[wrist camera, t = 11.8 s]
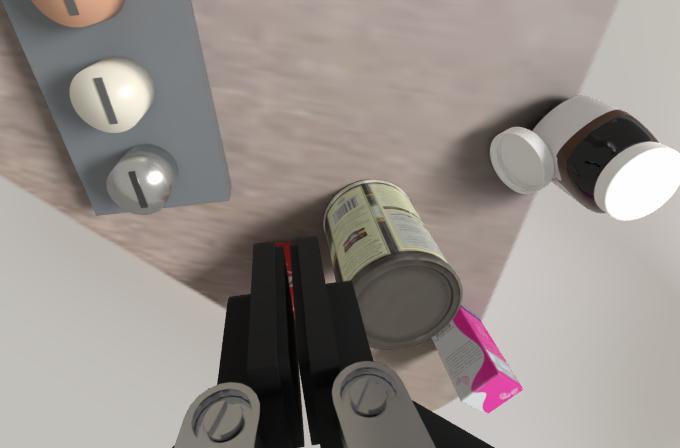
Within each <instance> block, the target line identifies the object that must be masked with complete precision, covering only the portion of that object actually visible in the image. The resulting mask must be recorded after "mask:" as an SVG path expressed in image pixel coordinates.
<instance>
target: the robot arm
mask: <svg viewBox="0 0 680 448" xmlns="http://www.w3.org/2000/svg"><path fill="white" fill-rule="evenodd" d="M290 258H291V271H292V285H293V299H294V310H293V304H292V297H291V291H290V285H289V278H288V272H287V265H286V259H285V253H284V247H283V246H277V247H276V244H275V241H274V242H266V243H258V244H254V248H253V265H252V283H251V294H247V295H240V296H232V297H229V299H228V303H227V311H226V319H225V328H224V335H223V343H222V351H221V359H220V367H219V375H218V383H217V385H216V386H214V387H212V388H209V389H208V390H206V391H205V392H204V393H202V394H201V395H199V396H198V397H197V398H196V399H195V401H194V402H193V403H192V404H191V405H190V407H189V409H188V411H187V413H186V415H185V417H184V420H183V423H182V426H181V429H180V432H179V435H178V438H177V441H176V443H175V445H174V446H173V447H172V448H300V447H304V431H303V417H302V404H301V391H300V377H299V370H300V376H301V382H302V388H303V394H304V400H305V407H306V413H307V419H308V425H309V431H310V437H311V443H312V445H317V444H320V447H321V448H494V447H492V446H491V445H489V444H487V443H485V442H484V441H482V440H480V439H478V438H477V437H475V436H473V435H472V434H470V433H468V432H466V431H465V430H463V429H461V428H459V427H457V426H456V425H454V424H452V423H451V422H449V421H447V420H446V419H444V418H442V417H440V416H439V415H437V414H435V413H433V412H432V411H430V410H428V409H426V408H425V407H423V406H421V405H420V404H418V403H416V402H414V401H413V400H411V398H410V396H409V394H408V392H407V390H406V388H405V386H404V384H403V382H402V380H401V379H400V378H399V376H398V375H397V373H396V372H395V371H393V370H392V369H391V368H389V367H388V366H386V365H383V364H381V363H378V362H373V358H372V354H371V351H370V347H369V343H368V339H367V335H366V332H365V328H364V324H363V320H362V317H361V313H360V309H359V305H358V301H357V298H356V294H355V290H354V286H353V283H352V281H351V280H349V281H342V282H335V283H327V284H325V279H324V273H323V267H322V262H321V256H320V250H319V245H318V239H317V236H314V237H306V238H298V239H297V244H293V245H290ZM294 312H295V317H294ZM298 362H299V363H298Z"/></svg>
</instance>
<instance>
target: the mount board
mask: <svg viewBox="0 0 680 448" xmlns="http://www.w3.org/2000/svg"><path fill="white" fill-rule="evenodd" d="M1 1H2V3H3V5H4V8H5V10H6V12H7V15H8V17H9V19H10V21H11V24H12V26H13V28H14V30H15V33H16V35H17V37H18V39H19V42H20V44H21V46H22V48H23V51H24V53H25V55H26V58H27V60H28V62H29V64H30V67H31V69H32V71H33V73H34V76H35V78H36V80H37V82H38V85H39V87H40V89H41V92H42V94H43V96H44V98H45V101H46V103H47V105H48V107H49V110H50V112H51V114H52V116H53V119H54V121H55V123H56V125H57V128H58V130H59V132H60V135H61V137H62V139H63V141H64V144H65V146H66V148H67V150H68V153H69V155H70V157H71V159H72V162H73V164H74V166H75V168H76V171H77V173H78V175H79V178H80V180H81V182H82V184H83V187H84V189H85V191H86V193H87V196H88V198H89V200H90V202H91V205H92V207H93V209H94V211H95V214H96V216H99V215H107V214H116V213H125V212H128V211H126V210H124V209H122V208H121V207H119V206H118V205H117V204H116V203H115V202H114V201H113V200H112V199H111V197H110V195H109V193H108V191H107V178H108V176H109V174H110V172H111V171H112V170H113V169H114V167H115V166H116V165H117V163H118V162H119V161H120V160H121V158H122V157H123V156H124V154H125V153H126V152H127V151H128V150H129V149H130V148H132V147H134V146H136V145H139V144H152V145H156V146H159V147H161V148H163V149H165V150H166V151H167V152H169V153H170V154H171V155H172V156H173V158H174V159H175V161H176V163H177V166H178V172H179V173H178V178H177V181H176V183H175V185H174V187H173V190H172V192H171V194H170V197H169V199H168V201H167V203H166V205H165V206H164V207H163V208H169V207H177V206H186V205H195V204H204V203H212V202H221V201H229V199H230V193H231V187H232V186H231V181H230V177H229V172H228V167H227V163H226V158H225V154H224V149H223V145H222V140H221V136H220V131H219V127H218V122H217V117H216V113H215V108H214V104H213V99H212V95H211V90H210V86H209V81H208V76H207V72H206V67H205V63H204V58H203V54H202V49H201V45H200V40H199V35H198V31H197V26H196V22H195V17H194V13H193V8H192V4H191V0H125V2H124V5H123V7H122V9H121V10H120V12H119V13H118V14H117V15H116V16H114V17H112V18H110V19H108V20H104V21H101V22H98V23H95V24H92V25H89V26H86V27H68V26H64V25H62V24H59V23H57V22H55V21H53V20H51V19H50V18H48V17H47V16H46V15H44V14H43V13H42V12H41V11H40V10H39V9H38V8H37V7H36V6H35V5H34V3H33V2H32V1H31V0H1ZM110 56H122V57H126V58H129V59H131V60H133V61H135V62H137V63H138V64H140V65H141V66H142V67H143V68H144V69H145V70H146V71H147V72H148V74H149V75H150V77H151V79H152V81H153V83H154V87H155V98H154V102H153V104H152V106H151V107H150V108H149V110H148V111H147V112H146V113H145V114H144V115H143V117H142V118H141V119H140V120H139V121H138V122H137V124H136V125H135V126H134V127H132V128H131V129H129V130H127V131H124V132H120V133H109V132H104V131H101V130H98V129H96V128H94V127H92V126H90V125H89V124H87V123H86V122H85V121H84V120H83V119H82V118H81V117H80V116H79V115H78V114H77V112H76V111H75V109H74V107H73V105H72V103H71V100H70V85H71V82H72V80H73V78H74V77H75V76H76V75H77V74H78V73H79V72H80V71H82V70H84V69H85V68H87V67H89V66H91V65H93V64H95V63H96V62H98V61H100V60H102V59H104V58H106V57H110Z"/></svg>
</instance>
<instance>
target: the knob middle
mask: <svg viewBox="0 0 680 448" xmlns="http://www.w3.org/2000/svg"><path fill="white" fill-rule="evenodd" d="M154 98H155V87H154V83H153V81H152V79H151V77H150V75H149V74H148V72H147V71H146V70H145V69H144V68H143V67H142V66H141V65H140V64H138V63H137V62H135V61H133V60H131V59H129V58H126V57H122V56H110V57H106V58H104V59H102V60H100V61H98V62H96V63H95V64H93V65H91V66H89V67H87V68H85V69H84V70H82V71H80V72H79V73H78V74H77V75H76V76H75V77H74V78H73V80H72V82H71V85H70V100H71V103H72V105H73V107H74V109H75V111H76V112H77V114H78V115H79V116H80V117H81V118H82V119H83V120H84V121H85V122H86V123H87V124H89V125H90V126H92V127H94V128H96V129H98V130H101V131H104V132H109V133H120V132H124V131H127V130H129V129H131V128H132V127H134V126H135V125H136V124H137V122H138V121H139V120H140V119H141V118H142V117H143V115H144V114H145V113H146V112H147V111H148V110H149V108H150V107H151V106H152V104H153V102H154Z"/></svg>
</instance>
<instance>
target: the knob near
mask: <svg viewBox="0 0 680 448" xmlns="http://www.w3.org/2000/svg"><path fill="white" fill-rule="evenodd" d="M31 1H32V2H33V3H34V5H35V6H36V7H37V8H38V9H39V10H40V11H41V12H42V13H43V14H44V15H46V16H47V17H48V18H50V19H51V20H53V21H55V22H57V23H59V24H62V25H64V26H68V27H86V26H89V25H92V24H95V23H98V22H101V21H104V20H108V19H110V18H112V17H114V16H116V15H117V14H118V13H119V12H120V10H121V9H122V7H123V5H124V2H125V0H31Z"/></svg>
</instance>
